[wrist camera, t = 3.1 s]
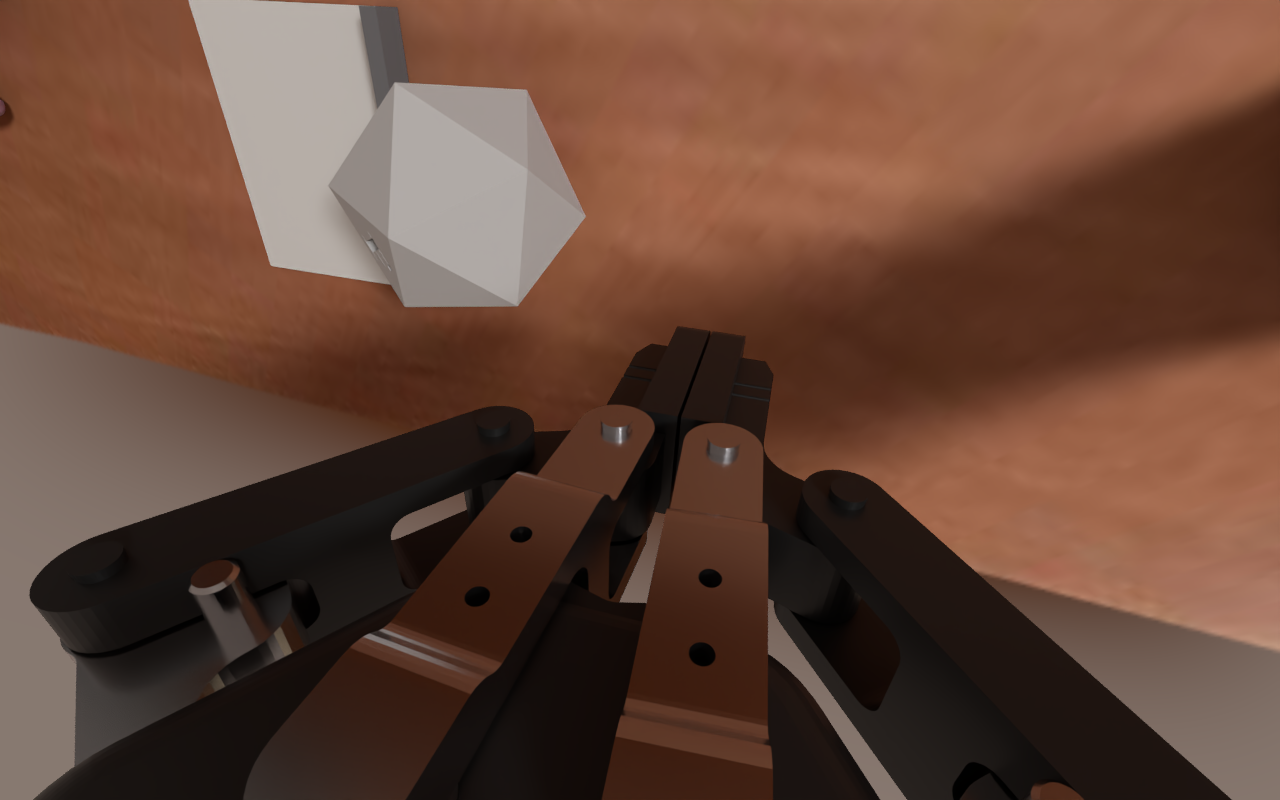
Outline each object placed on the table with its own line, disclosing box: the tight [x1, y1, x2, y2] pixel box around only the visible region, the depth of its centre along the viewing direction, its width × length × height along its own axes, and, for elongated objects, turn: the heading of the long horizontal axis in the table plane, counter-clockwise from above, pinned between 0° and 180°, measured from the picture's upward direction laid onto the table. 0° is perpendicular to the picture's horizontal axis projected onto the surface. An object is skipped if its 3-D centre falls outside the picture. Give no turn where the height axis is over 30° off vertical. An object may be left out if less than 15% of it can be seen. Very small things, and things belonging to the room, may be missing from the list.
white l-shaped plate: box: [188, 0, 409, 285], centre depth 30 cm, size 11×13×2 cm
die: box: [328, 82, 586, 307], centre depth 24 cm, size 8×9×10 cm
